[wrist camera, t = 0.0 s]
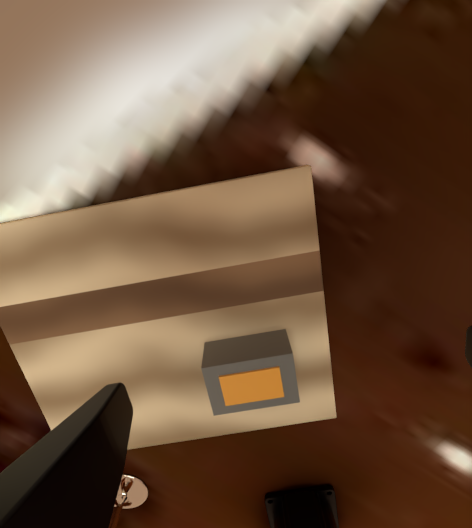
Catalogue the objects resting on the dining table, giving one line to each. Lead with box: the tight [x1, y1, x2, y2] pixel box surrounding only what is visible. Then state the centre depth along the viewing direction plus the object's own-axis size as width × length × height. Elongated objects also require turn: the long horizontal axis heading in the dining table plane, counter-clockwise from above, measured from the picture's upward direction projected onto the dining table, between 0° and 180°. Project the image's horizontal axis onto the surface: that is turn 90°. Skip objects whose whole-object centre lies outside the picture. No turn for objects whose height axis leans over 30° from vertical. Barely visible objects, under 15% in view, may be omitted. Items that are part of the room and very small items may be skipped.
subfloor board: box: [0, 165, 336, 450], centre depth 24 cm, size 20×23×1 cm
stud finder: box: [201, 329, 300, 416], centre depth 23 cm, size 4×6×3 cm, turn 100°
